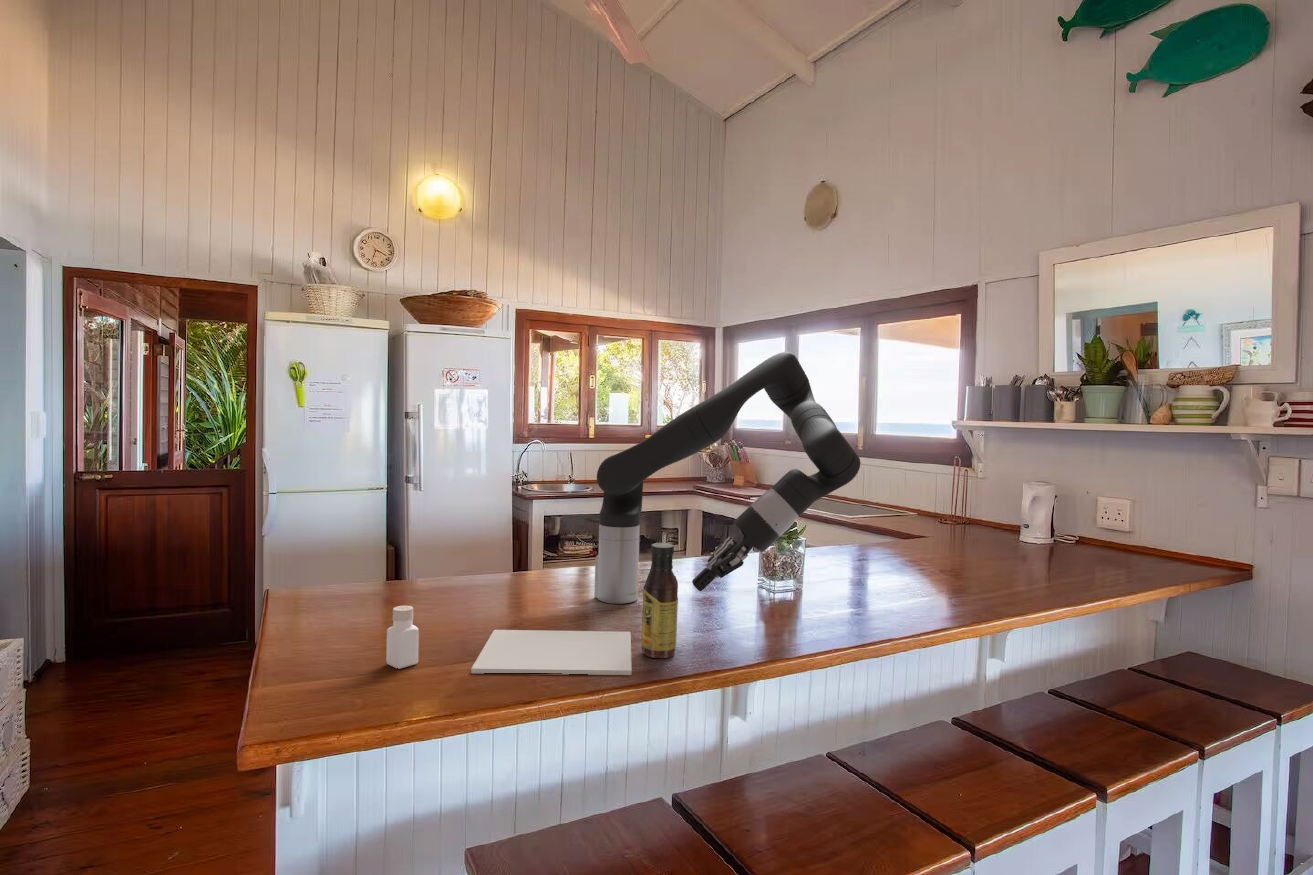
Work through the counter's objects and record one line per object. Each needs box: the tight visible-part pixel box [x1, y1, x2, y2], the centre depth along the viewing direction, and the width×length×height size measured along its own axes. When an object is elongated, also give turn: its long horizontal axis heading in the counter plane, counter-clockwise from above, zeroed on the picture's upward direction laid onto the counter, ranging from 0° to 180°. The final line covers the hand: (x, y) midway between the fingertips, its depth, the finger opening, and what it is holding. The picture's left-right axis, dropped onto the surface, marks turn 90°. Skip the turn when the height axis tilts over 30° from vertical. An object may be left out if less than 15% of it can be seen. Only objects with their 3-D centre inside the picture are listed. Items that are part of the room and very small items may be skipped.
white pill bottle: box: [385, 605, 420, 670], centre depth 117 cm, size 4×4×10 cm
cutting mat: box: [470, 629, 633, 676], centre depth 125 cm, size 26×20×1 cm
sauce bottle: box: [641, 542, 679, 659], centre depth 125 cm, size 6×6×20 cm
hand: (695, 586), depth 125 cm, fingers closed
